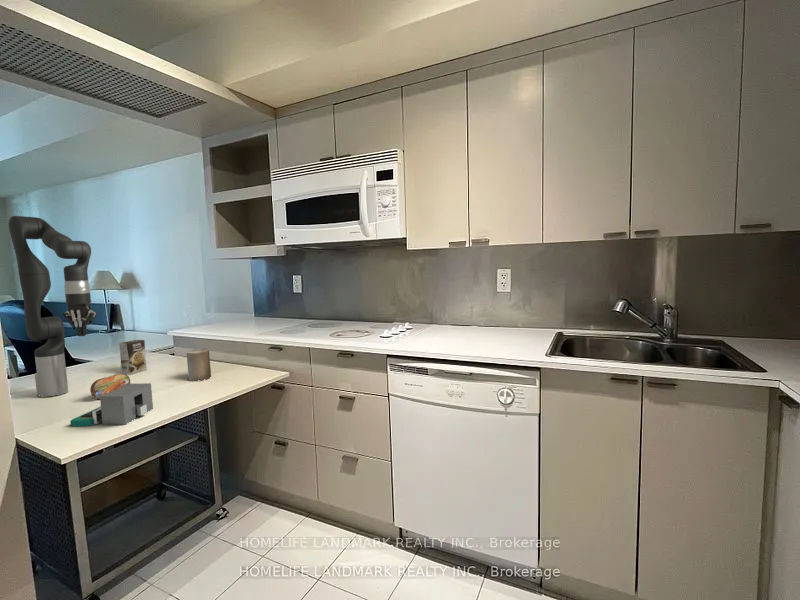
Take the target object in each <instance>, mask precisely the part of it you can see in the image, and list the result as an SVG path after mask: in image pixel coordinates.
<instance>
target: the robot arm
mask: <svg viewBox="0 0 800 600" xmlns="http://www.w3.org/2000/svg"><path fill="white" fill-rule="evenodd" d="M8 230H9V234H10V239H11V242H12V245H13V249H14V253H15V257H16V262H17V263H16V264H17V270H18V277H19V282H20V283H19V284H20V288H21V291H22V292H21V294H22V298H23V304H24V305H23V306H24V320H25V321H24V322H25V331H26V335H27V337H28V338H29V339H30V340H31V341H34V342H38V341H39V342H40V341H43V340H47V341H46V343H45V344H43V345H41V346H40V347H38V348H36V349H35V350H34V359H35V367H36V373H35V374H34V381H35V382H34V383H35V387H36V388H35V390H36V396H37V395H40V396H43V397H42V398H48V397H47V396H53V397H56V396H55V395H58V396H61V395H60V394H62V395H64V394H63V393H65V394H66V392H67V393H68V392H69V386H68V377H67V367H66V359H65V358H66V357H65V346H66V341H65V339H66V336H65V325H64V324H65V323H64V322H63V320H62V318H60V317H59V316H45V317H41V308H42V304H43V303H44V300H46V299H45V298H46V296H47V295H48V294H49V292H50V290H51V287H52V281H51V277H50V276H51V275H50V271H49V269H48V267H47V265H45V264H44V263H43V262H42V261H41V260H40V259H39V258H38V256H36V255H35V254H34V253H33V251H32V250H31V248H30V247H29V243H28V241H27V240H41V241H42V243H43V245H45V246H46V247H47V248H49V249H51V250H53V251H54V253H55V254H56V256H57V257H58V258H59V259H64V260H76V261H75V263H74V264H70V265H66V266H64V267H63V278H64V296H65V305H66V306H67V309H66V311H65V312H63V313H61V316H62V317H63V318H64V319H65V321H66V322H67V323H69V325H70V326H71V327H73V326H74V327H75V328H76V335H77V336H78V337H86V336H87V333H88V331H87V326H89V325H92V323H93V322H94V320H95V318H97V316H98V312H97V311H94V310H92V307H91V303H92V299H91V298H92V297H91V289H90V282H89V276H88V267H89V263H90V259H91V256H92V247H91V246H90V244H89V243H88V242H87V241H85V240H72V238H70V237H69V236H67V235H66V234H63V233H61V232H59V231H57V230H56V229H55V228H54V227H53V226H51V225H50V223H48V222H47V221H46V220H44V219H42V218H41V217H36V216H25V215H23V216H22V215H21V216H20V215H12V216H10V217H9V220H8ZM40 396H39V397H40Z"/></svg>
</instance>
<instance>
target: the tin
mask: <svg viewBox="0 0 800 600" xmlns="http://www.w3.org/2000/svg"><path fill="white" fill-rule="evenodd" d="M128 384H131V378H130V375H127V374H122V373H114V374H111V375H107V376H106V377H105V376H104V377H102V378H98V379H95V381H93V382H92V384H91V385H90V390H89V392H90V395H91V396H92V397H93V398H94V399H98V400H100V396H102V395H105V394H107V393H109V392H112V391H114V390H116V389H119V388H121V387H123V386H126V385H128Z"/></svg>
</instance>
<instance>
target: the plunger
mask: <svg viewBox="0 0 800 600" xmlns="http://www.w3.org/2000/svg"><path fill="white" fill-rule="evenodd" d="M135 413H136V417H137V416H143V415H145V413H146V414H147V413H148V412H147V406H146V404H135ZM92 414H93V424H94V425H98V424H100V423H102V413H101V408H99V409H97V410H95V411H93V412H92Z"/></svg>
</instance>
